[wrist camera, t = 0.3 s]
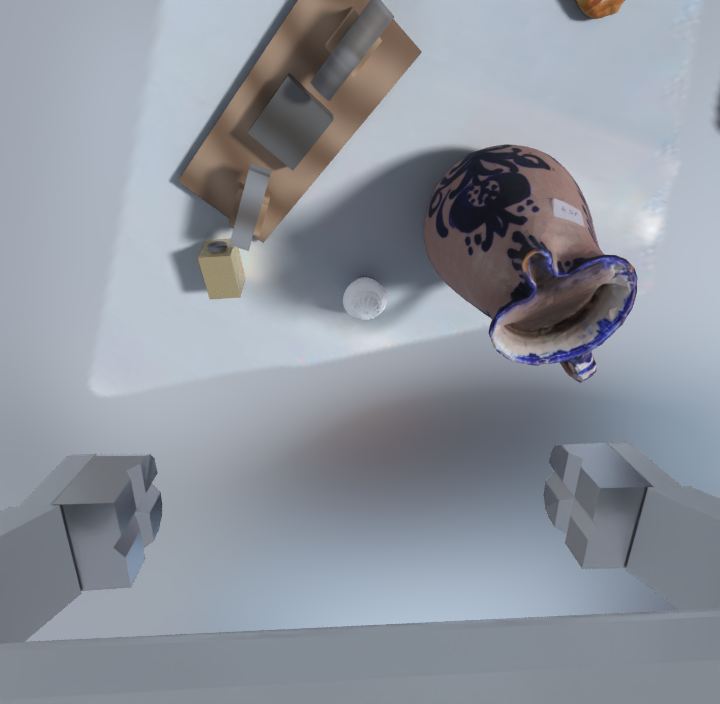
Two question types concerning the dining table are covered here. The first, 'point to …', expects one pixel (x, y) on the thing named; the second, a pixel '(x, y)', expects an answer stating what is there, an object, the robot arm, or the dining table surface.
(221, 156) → the shaft stand
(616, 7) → the pastry
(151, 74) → the dining table surface
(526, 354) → the ceramic pitcher
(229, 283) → the tan rectangular block
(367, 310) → the white rounded piece
